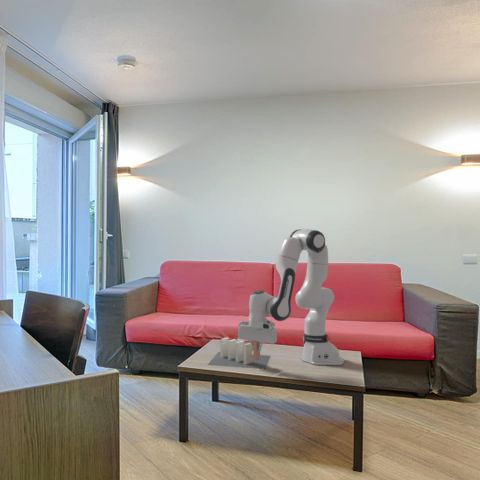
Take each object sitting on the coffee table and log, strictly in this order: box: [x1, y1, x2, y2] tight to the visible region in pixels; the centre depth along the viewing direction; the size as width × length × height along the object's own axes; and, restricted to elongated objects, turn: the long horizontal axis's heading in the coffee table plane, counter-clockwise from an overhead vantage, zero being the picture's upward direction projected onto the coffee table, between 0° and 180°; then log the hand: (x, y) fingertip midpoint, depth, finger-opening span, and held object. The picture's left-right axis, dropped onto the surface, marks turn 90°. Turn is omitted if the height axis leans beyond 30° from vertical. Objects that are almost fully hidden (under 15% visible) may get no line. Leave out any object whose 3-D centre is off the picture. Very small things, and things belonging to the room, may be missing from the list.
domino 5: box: [252, 341, 261, 362], centre depth 194 cm, size 2×5×10 cm, turn 156°
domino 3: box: [236, 341, 244, 362], centre depth 202 cm, size 2×5×10 cm, turn 139°
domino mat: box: [207, 352, 271, 370], centre depth 203 cm, size 30×23×1 cm
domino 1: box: [220, 337, 230, 358], centre depth 209 cm, size 2×5×10 cm, turn 139°
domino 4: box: [244, 343, 253, 364], centre depth 198 cm, size 2×5×10 cm, turn 139°
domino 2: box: [228, 338, 237, 360], centre depth 205 cm, size 2×5×10 cm, turn 140°
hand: (256, 349), depth 194 cm, fingers closed on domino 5, 2 cm apart
